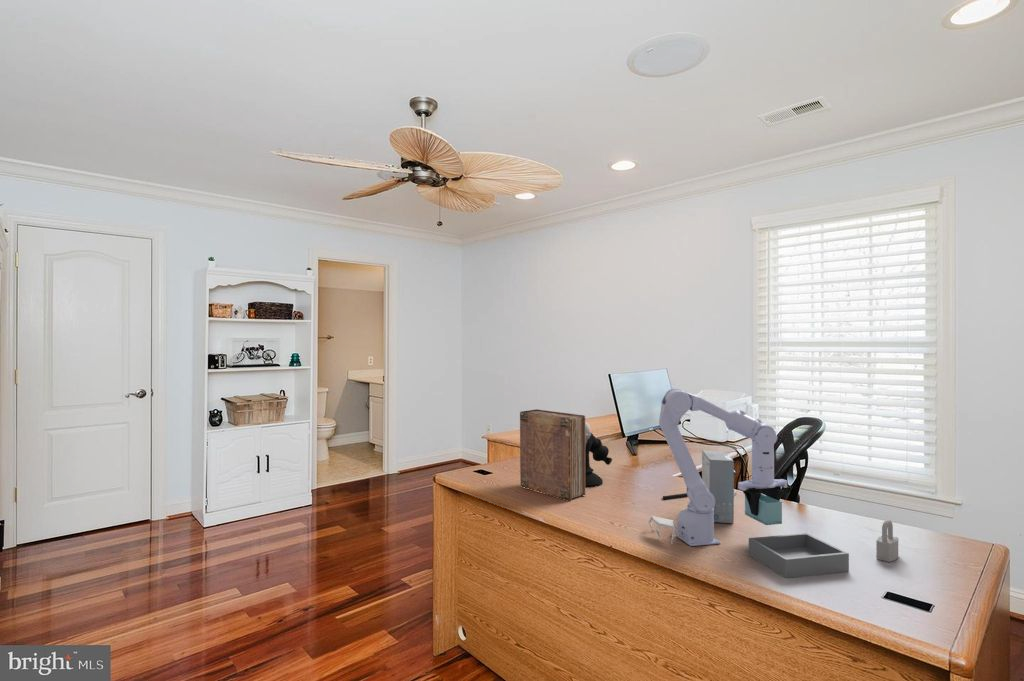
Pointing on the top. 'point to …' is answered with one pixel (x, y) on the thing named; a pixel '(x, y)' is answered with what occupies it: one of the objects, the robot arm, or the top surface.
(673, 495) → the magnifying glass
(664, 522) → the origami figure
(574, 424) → the book
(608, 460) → the sculpture
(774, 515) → the teal mini crate
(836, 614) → the top surface
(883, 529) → the padlock
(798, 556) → the grey crate
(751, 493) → the robot arm
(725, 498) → the hard drive box
